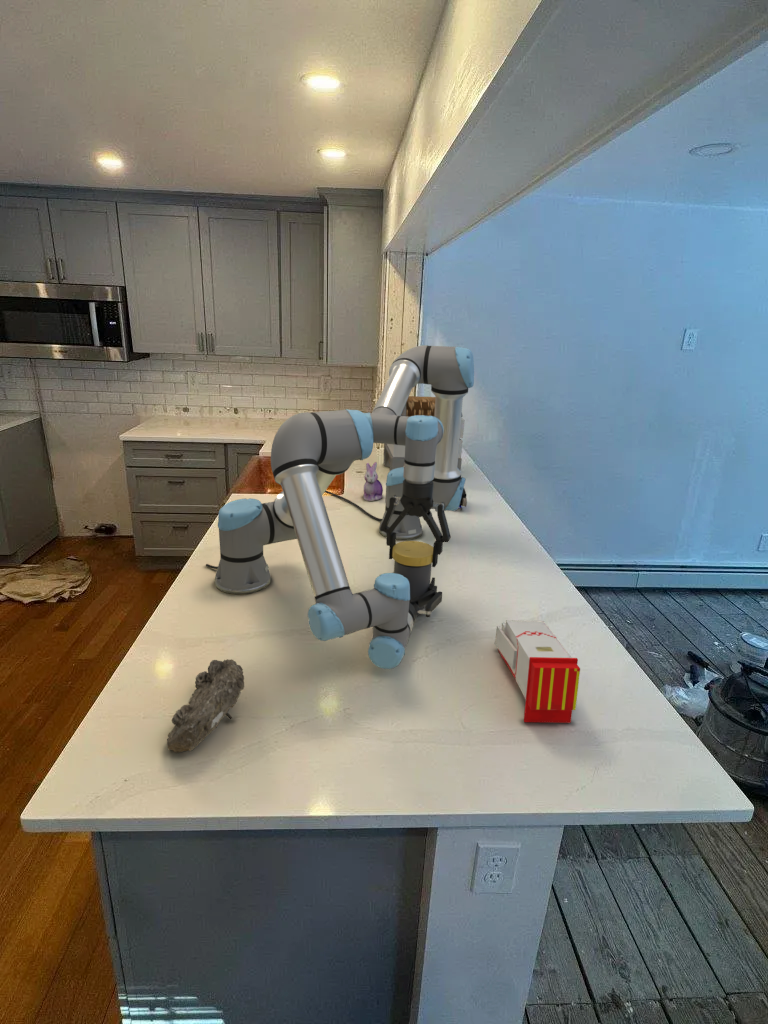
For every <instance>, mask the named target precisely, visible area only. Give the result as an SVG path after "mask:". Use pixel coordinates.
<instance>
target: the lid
mask: <svg viewBox="0 0 768 1024" xmlns="http://www.w3.org/2000/svg"><path fill="white" fill-rule="evenodd" d="M433 547H434V545H431V544H430V543H427V542H425V541H419V540H402V541H399V542H396V544H395V545H394V546H393V550H392V557H393V558H392V560H395V561H396V562H398V563H400V564H403V565H407V566H425V565H429V564H431V563H432V560H433Z"/></svg>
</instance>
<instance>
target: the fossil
mask: <svg viewBox="0 0 768 1024" xmlns="http://www.w3.org/2000/svg"><path fill="white" fill-rule="evenodd" d="M243 670H244V669H243V667H242V665H240V664H237V662H236V661H235V660H234V659H232V658H231V659H227V658H226V659H224V660H223V661H222V660H217V659H212V660H211V661H210V663H209V665H208V666H207V671H201V672H199V673H198V674H197V675H196V676H195V680H194V684H195V685H194V687H195V689H194V690H193V693H192V694H191V697H190V698H189V700H188V704H184V705H182V706H181V707H180V709H177V710H176V711H175V713H174V715H173V716H172V718H171V723H172V724H173V727H172V730H171V731H170V732H168V734H167V738H166V741H167V742H166V745H167V749H168V750H169V751H173V752H174V753H176V754H178V753H182V752H188V751H189V752H192V751H193V750H195V748H196V747H197V746H199V744H200V743H201V742H203V741H204V740H205V739H206V738H207V737H208V736H209V735H210V734H211V733H212V732H214V730H215V729H217V727H218V726H219V724H220V722H221V721H222V720H223V719H224V718H225V716H226V717H227V719H229V720H233V717H232V715H230V714H229V710H230V709H231V708H234V706H235V704H236V703H237V702H238V699H239V697H240V695H241V693H242V691H243V690H245V689H244V688H245V675H244V671H243Z"/></svg>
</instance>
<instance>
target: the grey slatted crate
mask: <svg viewBox="0 0 768 1024" xmlns="http://www.w3.org/2000/svg"><path fill="white" fill-rule="evenodd" d="M435 398H436V396H415V395H414V396H413V395H412V396H411V395H409V397H408V399H407V402H406V404H405V406H404V409H403V411H402V413H401V416H407V417H411V416H415V415H424V416H434V415H435ZM464 429H465V419H464V418H463V413H462V414H461V426H460V439H459V452H458V465H457V468H458V469H459V470H460V471H461V472H462V461H463V460H462V453H463V442H464V441H463V440H462V439H463V438H464V431H465V430H464ZM404 460H405V446H403V445H394V444H383V466H384V467H388V468H389V472H390V471H391V470H393V469H396V468H401V467H404Z"/></svg>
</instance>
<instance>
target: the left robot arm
mask: <svg viewBox="0 0 768 1024" xmlns="http://www.w3.org/2000/svg"><path fill="white" fill-rule="evenodd" d="M364 413H365V412H363V411H361V410H359V409H348V408H346V409H339V410H338V409H337V410H327V411H313V412H308V411H307V412H306V411H305V412H299V413H296V414H294V415H292V416H290V417H288V418H287V419H286V420H285V421H283V423H282V424H281V425H280V427H279V428H278V430H277V431H276V433H275V435H274V437H273V440H272V444H271V449H270V468H271V472H272V474H273V475H272V476H273V479H274V482H275V483H276V484H278V485H280V486H281V489H282V491H281V492H280V493H278V494H277V496H276V497H275V499H274V500H273V501H269V502H268V501H267V502H263V503H262V502H261V501H260V500H259V499H256V498H241V499H235V500H232V501H229V502H226V503H225V504H223V506H222V507H221V508H220V509H219V511H218V517H217V518H218V519H217V520H218V521H217V528H218V538H219V554H220V559H219V562H218V565H217V566H215V565H211V564H209V563H206V564H205V567H207V568H210V569H214V570H216V573H215V576H214V577H215V578H214V585H215V588H217V589H218V591H221V592H224V593H227V594H233V595H248V594H253V593H256V592H260V591H262V590H264V589H266V588H267V587H268V586H269V585H270V584H271V580H272V579H271V577H272V576H271V571H270V568H269V567H270V566H269V565H268V563H267V561H266V558H265V556H264V546H267V545H271V544H277V543H282V542H288V541H292V540H297V543H298V546H299V550H300V554H301V556H302V559H303V563H304V566H305V569H306V574H307V576H308V580H309V583H310V587H311V590H312V594H313V597H314V601H315V604H312V605H311V606H310V607H309V608H308V612H307V619H308V626H309V629H310V631H311V633H312V635H313V636H314V637H315V639H317V640H318V641H321V642H326V641H330V640H334V639H340V638H344V636H348V635H350V634H353V633H357V632H360V631H363V630H366V629H370V628H372V638H371V639H370V641H369V643H368V644H369V645H368V649H367V653H368V654H367V655H368V658H369V660H370V661H371V663H372V664H373V665H374V666H376V667H377V668H379V669H382V670H392V669H394V668H396V667H398V666H399V665H400V664H401V662H402V660H403V658H404V656H405V655H406V649H407V646H408V642H409V639H410V637H411V635H412V634H411V633H412V631H413V628H414V625H415V622H416V619H417V617H418V616H420V615H419V614H421V615H424V616H425V617H426V618H431V615H432V612H433V611H435V609H436V608H437V607H438V606H439V605H440V604H441V603H442V601H443V591H438V585H435V584H436V577H434V576H433V577H432V576H431V580H430V586H429V591H428V592H426V593H424V594H423V595H421V596H419V597H414V598H412V599H410V583H409V581H408V579H407V578H405V577H404V576H403V575H400V574H397V573H394V572H385V573H381V574H379V575H378V576H376V578H375V580H374V583H373V588H371V589H367V590H363V591H360V592H356V593H353V592H352V589H351V587H350V583H349V580H348V576H347V572H346V570H345V567H344V563H343V560H342V556H341V554H340V550H339V548H338V544H337V541H336V537H335V534H334V531H333V528H332V525H331V521H330V518H329V514H328V511H327V507H326V503H325V501H324V498H323V495H324V494H325V491H327V490H328V488H329V487H330V485H331V484H332V482H333V481H334V479H335V478H336V476H339V475H342V474H344V473H346V472H347V471H348V470H349V469H350V467H351V466H352V465H353V463H354V462H356V461H363V460H366V459H369V458H370V456H371V455H372V452H373V448H374V443H373V433H372V429H371V425H370V423H369V420H368V419H367V417H366V416H365V414H364ZM426 604H427V605H426ZM422 606H424V607H423V608H421V607H422Z"/></svg>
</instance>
